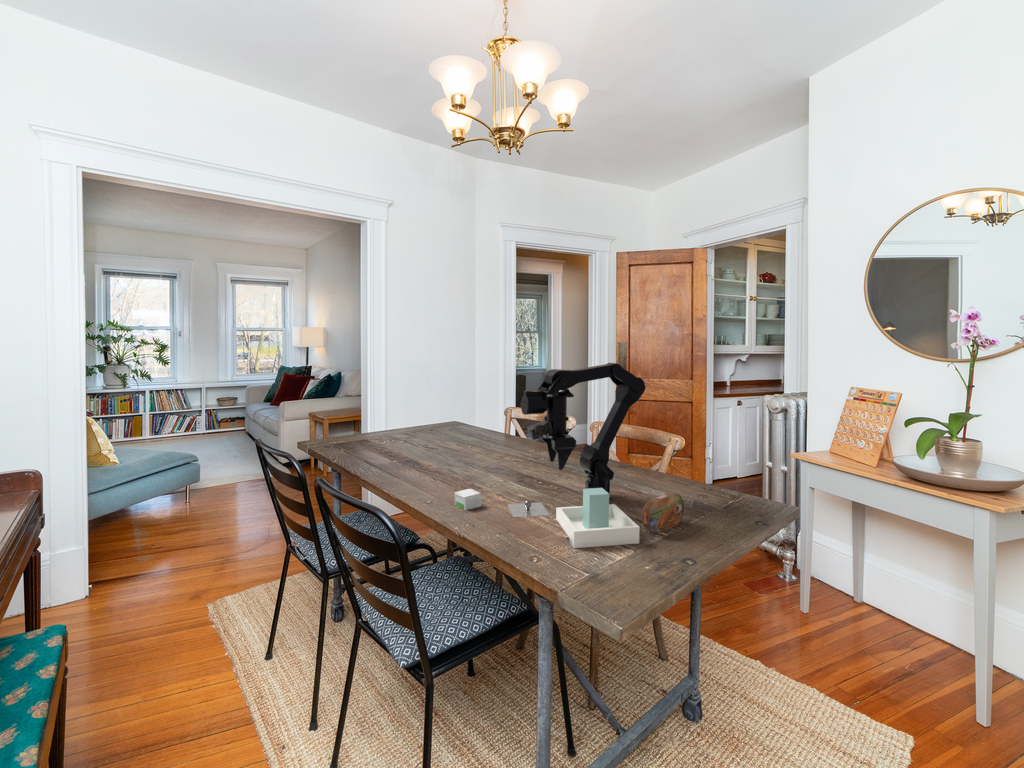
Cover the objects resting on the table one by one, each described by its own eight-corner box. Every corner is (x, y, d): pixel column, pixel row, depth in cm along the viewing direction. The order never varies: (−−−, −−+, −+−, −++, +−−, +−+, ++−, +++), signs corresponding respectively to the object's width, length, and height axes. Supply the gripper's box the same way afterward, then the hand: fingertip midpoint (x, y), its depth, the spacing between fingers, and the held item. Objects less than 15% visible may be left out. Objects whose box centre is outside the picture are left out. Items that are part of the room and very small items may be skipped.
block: (582, 525, 124) (583, 488, 123) (601, 523, 125) (602, 487, 124) (589, 533, 119) (589, 495, 118) (608, 531, 120) (609, 494, 119)
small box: (454, 508, 139) (454, 491, 139) (471, 504, 143) (471, 487, 142) (464, 514, 135) (464, 497, 134) (482, 509, 138) (482, 492, 138)
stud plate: (541, 505, 141) (541, 493, 141) (549, 518, 132) (549, 505, 131) (507, 507, 140) (507, 495, 139) (513, 520, 130) (513, 507, 130)
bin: (613, 518, 132) (614, 504, 131) (639, 543, 116) (639, 527, 115) (556, 522, 129) (556, 507, 128) (573, 548, 113) (574, 531, 113)
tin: (650, 537, 119) (651, 504, 119) (639, 533, 122) (640, 500, 121) (684, 522, 129) (685, 491, 128) (674, 519, 131) (675, 488, 130)
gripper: (522, 408, 150) (522, 458, 151) (537, 419, 131) (537, 475, 133) (557, 407, 152) (557, 457, 153) (577, 417, 134) (576, 473, 135)
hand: (556, 465), depth 144 cm, fingers open, 9 cm apart
